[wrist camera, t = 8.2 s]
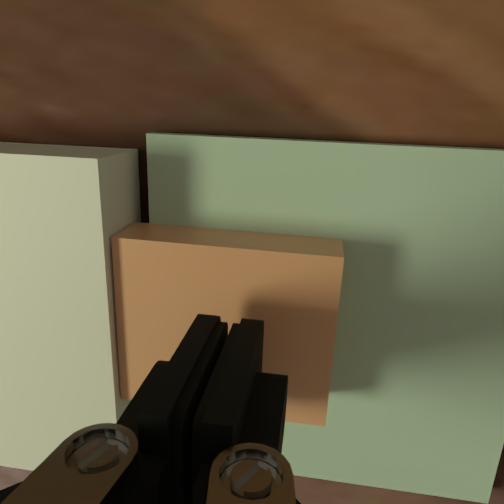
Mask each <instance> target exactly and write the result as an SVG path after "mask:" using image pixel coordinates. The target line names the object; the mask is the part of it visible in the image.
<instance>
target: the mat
mask: <svg viewBox="0 0 504 504" xmlns="http://www.w3.org/2000/svg"><path fill="white" fill-rule="evenodd" d="M146 147H147V174H148V200H149V223H151V224H163V225H176V226H188V227H200V228H212V229H224V230H237V231H249V232H261V233H273V234H285V235H298V236H310V237H322V238H334V239H342V244H343V251H344V265H343V274H342V283H341V292H340V300H339V309H338V318H337V327H336V336H335V345H334V353H333V362H332V371H331V380H330V389H329V398H328V407H327V415H326V424H325V427H323V426H316V425H309V424H301V423H294V422H287V421H285V426H284V436H283V444H282V452H281V454H282V455H284V457H285V458H286V459H287V461H288V462H289V463H290V466H291V469H292V472H293V475H297V476H304V477H311V478H318V479H324V480H331V481H338V482H345V483H352V484H358V485H365V486H372V487H379V488H386V489H392V490H399V491H406V492H413V493H420V494H426V495H433V496H440V497H447V498H453V499H460V500H467V501H474V502H481V503H487V504H488V502H489V498H490V494H491V490H492V486H493V483H494V479H495V475H496V471H497V467H498V464H499V460H500V456H501V452H502V448H503V444H504V149H494V148H473V147H452V146H431V145H410V144H389V143H368V142H347V141H327V140H306V139H285V138H264V137H243V136H222V135H201V134H180V133H160V132H152V133H146Z"/></svg>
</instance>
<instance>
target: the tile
mask: <svg viewBox="0 0 504 504" xmlns="http://www.w3.org/2000/svg"><path fill="white" fill-rule="evenodd" d="M111 244H112V261H113V277H114V293H115V310H116V326H117V342H118V359H119V375H120V391H121V399H126V400H132V398H133V397H134V395H135V394H136V392H137V391H138V389H139V387H140V386H141V384H142V383H143V381H144V380H145V378H146V377H147V375H148V374H149V372H150V371H151V369H152V368H153V366H154V365H155V363H156V362H157V361H159V360H163V361H170V359H171V357H172V356H173V354H174V352H175V351H176V349H177V347H178V346H179V344H180V343H181V341H182V339H183V338H184V336H185V334H186V333H187V331H188V329H189V328H190V326H191V324H192V323H193V321H194V319H195V318H196V316H197V315H198V314H206V315H216V316H220V317H221V322H227V323H228V334H229V331H230V329H231V327H232V324H233V323H239V324H240V322H241V319H242V318H245V319H255V320H264V338H263V359H262V372H264V373H273V374H281V375H288V390H287V403H286V416H285V421H287V422H294V423H301V424H309V425H316V426H323V427H325V424H326V415H327V407H328V398H329V389H330V380H331V371H332V362H333V353H334V345H335V336H336V327H337V318H338V309H339V300H340V292H341V283H342V274H343V265H344V251H343V244H342V239H334V238H322V237H310V236H298V235H285V234H273V233H261V232H249V231H237V230H224V229H212V228H200V227H188V226H176V225H163V224H151V223H139V222H135V223H133V224H132V225H130V226H128V227H127V228H125V229H124V230H122V231H120V232H119V233H117V234H116V235H114V236H112V237H111Z"/></svg>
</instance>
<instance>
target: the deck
mask: <svg viewBox="0 0 504 504" xmlns="http://www.w3.org/2000/svg"><path fill="white" fill-rule="evenodd" d="M135 222H139V223H141V207H140V184H139V161H138V149H127V148H108V147H90V146H71V145H52V144H33V143H15V142H0V466H6V467H13V468H19V469H25V470H32V471H34V470H35V469H36V468H37V467H38V466H39V465H40V464H41V463H42V462H43V461H44V460H45V459H46V458H47V457H48V456H49V455H50V454H51V453H52V452H53V451H54V450H55V449H56V448H57V447H58V446H59V445H60V444H61V443H62V442H63V441H64V440H65V439H66V438H68V437H69V436H70V435H71V434H73V433H74V432H76V431H78V430H80V429H82V428H84V427H87V426H91V425H95V424H101V423H114V424H116V423H117V421H118V420H119V418H120V417H121V415H122V414H123V412H124V410H125V409H126V407H127V406H128V404H129V403H130V401H131V400H126V399H121V391H120V375H119V359H118V342H117V326H116V310H115V293H114V277H113V261H112V244H111V237H112V236H114V235H116V234H117V233H119V232H120V231H122V230H124V229H125V228H127V227H128V226H130V225H132V224H133V223H135Z"/></svg>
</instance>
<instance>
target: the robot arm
mask: <svg viewBox="0 0 504 504" xmlns="http://www.w3.org/2000/svg"><path fill="white" fill-rule="evenodd" d="M263 338H264V320H255V319H245V318H242V319H241V322H240V324H239V323H233V324H232V327H231V329H230V331H229V334H228V323H227V322H221V317H220V316H216V315H206V314H198V315H197V316H196V318H195V319H194V321H193V323H192V324H191V326H190V328H189V329H188V331H187V333H186V334H185V336H184V338H183V339H182V341H181V343H180V344H179V346H178V347H177V349H176V351H175V352H174V354H173V356H172V357H171V359H170V361H163V360H159V361H157V362H156V363H155V365H154V366H153V368H152V369H151V371H150V372H149V374H148V375H147V377H146V378H145V380H144V381H143V383H142V384H141V386H140V387H139V389H138V391H137V392H136V394H135V395H134V397H133V398H132V400H131V401H130V403H129V404H128V406H127V407H126V409H125V410H124V412H123V414H122V415H121V417H120V418H119V420H118V421H117V423H116V424H114V423H101V424H95V425H91V426H87V427H84V428H82V429H80V430H78V431H76V432H74V433H73V434H71V435H70V436H69V437H68V438H66V439H65V440H64V441H63V442H62V443H61V444H60V445H59V446H58V447H57V448H56V449H55V450H54V451H53V452H52V453H51V454H50V455H49V456H48V457H47V458H46V459H45V460H44V461H43V462H42V463H41V464H40V465H39V466H38V467H37V468H36V469H35V470H34V471H33V472H32V473H31V474H30V475H29V476H28V477H27V478H26V479H25V480H24V481H22V482H20V483H17V484H15V485H13V486H10V487H8V488H5V489H3V490H0V504H301V503H300V502H299V501H298V500H297V499H296V497H295V488H294V478H293V472H292V469H291V466H290V463H289V462H288V461H287V459H286V458H285V457H284V455H282V454H281V452H282V444H283V436H284V426H285V416H286V403H287V390H288V375H281V374H273V373H264V372H262V359H263Z"/></svg>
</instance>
